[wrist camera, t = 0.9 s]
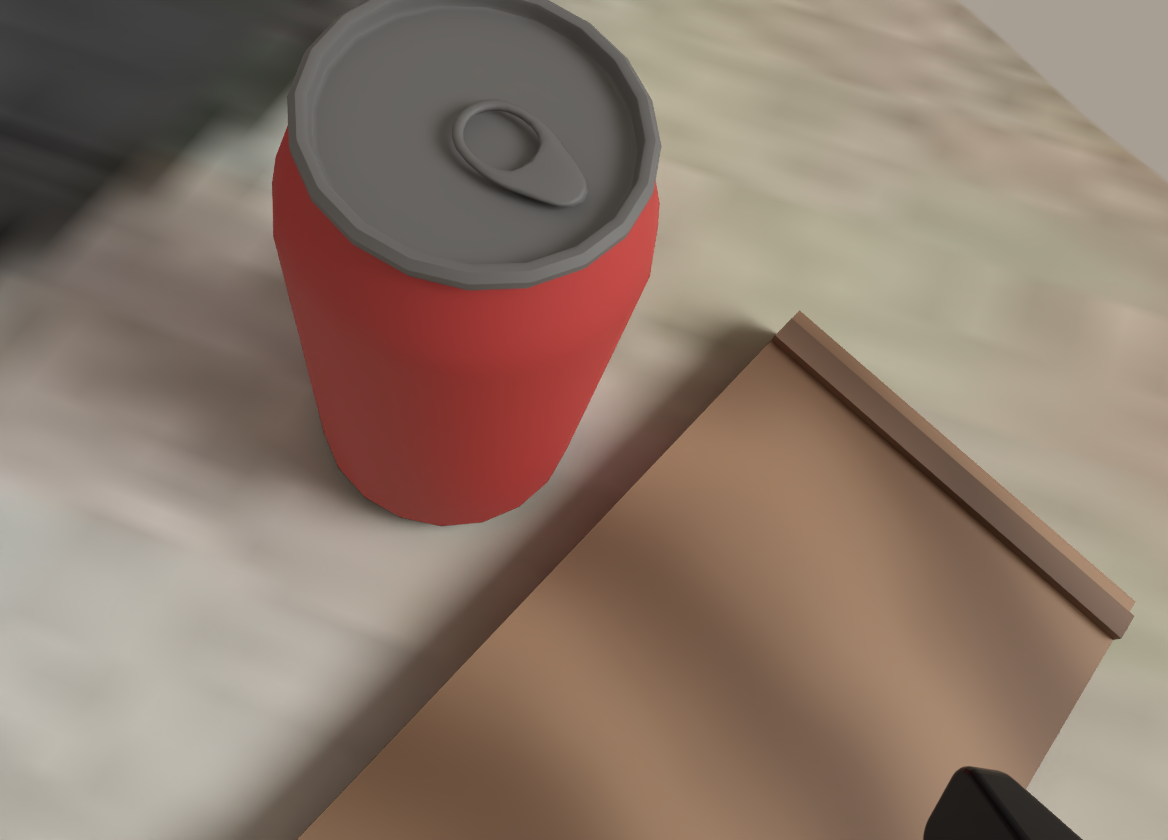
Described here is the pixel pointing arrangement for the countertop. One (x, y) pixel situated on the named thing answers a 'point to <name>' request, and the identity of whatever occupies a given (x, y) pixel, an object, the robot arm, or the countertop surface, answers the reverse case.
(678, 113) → the countertop surface
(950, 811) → the robot arm
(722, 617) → the walnut board
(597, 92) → the beer can
